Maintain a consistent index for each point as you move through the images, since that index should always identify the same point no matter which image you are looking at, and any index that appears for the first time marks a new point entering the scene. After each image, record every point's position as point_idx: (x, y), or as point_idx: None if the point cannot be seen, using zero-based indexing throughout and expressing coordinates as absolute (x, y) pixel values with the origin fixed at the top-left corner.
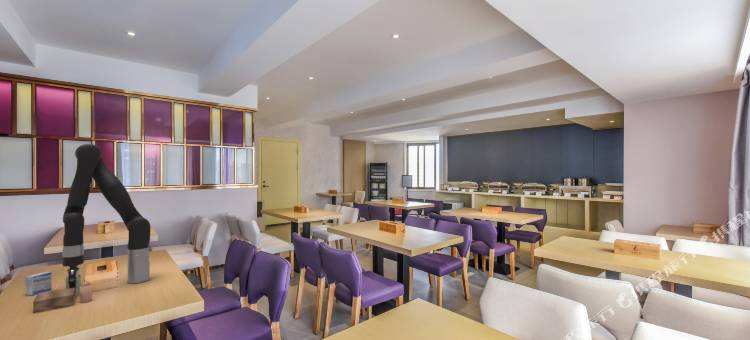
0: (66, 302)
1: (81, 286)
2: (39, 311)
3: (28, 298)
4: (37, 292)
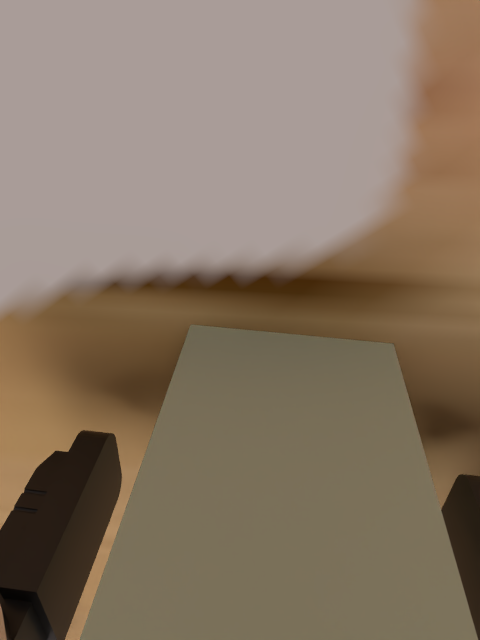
0: None
1: None
2: None
3: None
4: None
